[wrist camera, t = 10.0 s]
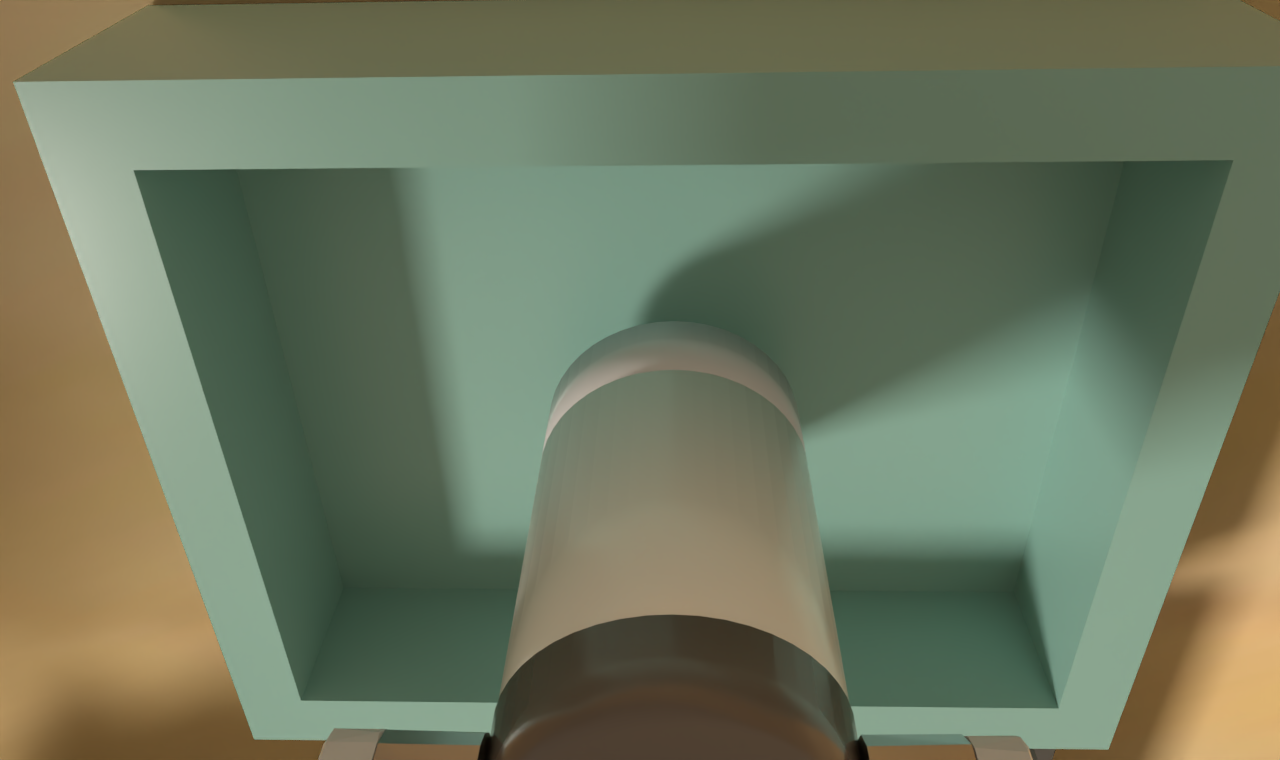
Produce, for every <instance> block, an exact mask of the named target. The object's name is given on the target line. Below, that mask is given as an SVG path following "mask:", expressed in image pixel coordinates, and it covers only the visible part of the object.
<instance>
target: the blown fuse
mask: <svg viewBox="0 0 1280 760" xmlns="http://www.w3.org/2000/svg"><path fill="white" fill-rule="evenodd" d="M486 760H861V757H860V751H859V745H858V737H857V731H856V725H855V720H854V714H853V711H852V708H851V706H850V703H849V698H848V692H847V686H846V681H845V675H844V669H843V663H842V658H841V652H840V646H839V641H838V635H837V629H836V623H835V618H834V612H833V606H832V601H831V595H830V589H829V583H828V578H827V572H826V566H825V561H824V555H823V549H822V544H821V538H820V532H819V526H818V521H817V515H816V509H815V504H814V498H813V492H812V486H811V481H810V475H809V469H808V464H807V458H806V452H805V447H804V441H803V435H802V429H801V424H800V418H799V412H798V407H797V402H796V399H795V396H794V393H793V390H792V388H791V386H790V384H789V382H788V380H787V378H786V376H785V375H784V374H783V372H782V371H781V370H780V368H779V367H778V365H777V364H776V363H775V362H774V361H773V360H772V359H771V358H770V357H769V356H768V355H767V354H766V353H764V352H763V351H762V350H760V349H759V348H758V347H757V346H755V345H754V344H752V343H751V342H749V341H747V340H745V339H744V338H742V337H740V336H738V335H736V334H733V333H731V332H729V331H726V330H724V329H720V328H717V327H713V326H710V325H706V324H700V323H694V322H681V321H666V322H654V323H648V324H642V325H638V326H634V327H631V328H628V329H624V330H621V331H619V332H617V333H614V334H612V335H610V336H608V337H606V338H604V339H602V340H601V341H599V342H597V343H596V344H594V345H592V346H591V347H590V348H589V349H587V350H586V351H585V352H584V353H582V354H581V355H580V356H579V357H578V358H577V359H576V360H575V361H574V362H573V363H572V364H571V365H570V367H569V368H568V369H567V371H566V372H565V374H564V375H563V376H562V378H561V380H560V382H559V384H558V386H557V388H556V390H555V393H554V396H553V399H552V402H551V407H550V413H549V419H548V424H547V430H546V436H545V441H544V447H543V452H542V458H541V464H540V469H539V475H538V481H537V486H536V492H535V498H534V503H533V509H532V514H531V520H530V526H529V531H528V537H527V543H526V548H525V554H524V560H523V565H522V571H521V576H520V582H519V588H518V593H517V599H516V605H515V610H514V616H513V622H512V627H511V633H510V638H509V644H508V650H507V655H506V661H505V667H504V672H503V678H502V683H501V689H500V695H499V699H498V702H497V705H496V708H495V711H494V717H493V722H492V728H491V734H490V741H489V747H488V753H487V758H486Z"/></svg>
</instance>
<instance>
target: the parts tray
mask: <svg viewBox="0 0 1280 760" xmlns="http://www.w3.org/2000/svg"><path fill="white" fill-rule="evenodd" d="M13 83H14V86H15V89H16V91H17V94H18V97H19V100H20V102H21V105H22V108H23V111H24V113H25V116H26V119H27V121H28V124H29V127H30V130H31V132H32V135H33V138H34V141H35V143H36V146H37V149H38V151H39V154H40V157H41V160H42V162H43V165H44V168H45V171H46V173H47V176H48V179H49V181H50V184H51V187H52V190H53V192H54V195H55V198H56V201H57V203H58V206H59V209H60V211H61V214H62V217H63V220H64V222H65V225H66V228H67V231H68V233H69V236H70V239H71V241H72V244H73V247H74V250H75V252H76V255H77V258H78V261H79V263H80V266H81V269H82V271H83V274H84V277H85V280H86V282H87V285H88V288H89V291H90V293H91V296H92V299H93V301H94V304H95V307H96V310H97V312H98V315H99V318H100V321H101V323H102V326H103V329H104V331H105V334H106V337H107V340H108V342H109V345H110V348H111V351H112V353H113V356H114V359H115V361H116V364H117V367H118V370H119V372H120V375H121V378H122V381H123V383H124V386H125V389H126V391H127V394H128V397H129V400H130V402H131V405H132V408H133V411H134V413H135V416H136V419H137V421H138V424H139V427H140V430H141V432H142V435H143V438H144V441H145V443H146V446H147V449H148V451H149V454H150V457H151V460H152V462H153V465H154V468H155V471H156V473H157V476H158V479H159V481H160V484H161V487H162V490H163V492H164V495H165V498H166V501H167V503H168V506H169V509H170V511H171V514H172V517H173V520H174V522H175V525H176V528H177V531H178V533H179V536H180V539H181V541H182V544H183V547H184V550H185V552H186V555H187V558H188V561H189V563H190V566H191V569H192V571H193V574H194V577H195V580H196V582H197V585H198V588H199V591H200V593H201V596H202V599H203V601H204V604H205V607H206V610H207V612H208V615H209V618H210V621H211V623H212V626H213V629H214V631H215V634H216V637H217V640H218V642H219V645H220V648H221V651H222V653H223V656H224V659H225V661H226V664H227V667H228V670H229V672H230V675H231V678H232V681H233V683H234V686H235V689H236V691H237V694H238V697H239V700H240V702H241V705H242V708H243V710H244V713H245V716H246V719H247V721H248V724H249V727H250V730H251V732H252V735H253V738H254V739H257V740H327V738H328V737H329V735H330V734H331V732H332V731H333V729H334V728H344V729H388V730H422V731H455V732H488V733H490V734H491V728H492V722H493V717H494V711H495V708H496V705H497V702H498V699H499V695H500V689H501V683H502V678H503V672H504V667H505V661H506V655H507V650H508V644H509V638H510V633H511V627H512V622H513V616H514V610H515V605H516V599H517V593H518V588H519V582H520V576H521V571H522V565H523V560H524V554H525V548H526V543H527V537H528V531H529V526H530V520H531V514H532V509H533V503H534V498H535V492H536V486H537V481H538V475H539V469H540V464H541V458H542V452H543V447H544V441H545V436H546V430H547V424H548V419H549V413H550V407H551V402H552V399H553V396H554V393H555V390H556V388H557V386H558V384H559V382H560V380H561V378H562V376H563V375H564V374H565V372H566V371H567V369H568V368H569V367H570V365H571V364H572V363H573V362H574V361H575V360H576V359H577V358H578V357H579V356H580V355H581V354H582V353H584V352H585V351H586V350H587V349H589V348H590V347H591V346H592V345H594V344H596V343H597V342H599V341H601V340H602V339H604V338H606V337H608V336H610V335H612V334H614V333H617V332H619V331H621V330H624V329H628V328H631V327H634V326H638V325H642V324H648V323H654V322H666V321H681V322H694V323H700V324H706V325H710V326H713V327H717V328H720V329H724V330H726V331H729V332H731V333H733V334H736V335H738V336H740V337H742V338H744V339H745V340H747V341H749V342H751V343H752V344H754V345H755V346H757V347H758V348H759V349H760V350H762V351H763V352H764V353H766V354H767V355H768V356H769V357H770V358H771V359H772V360H773V361H774V362H775V363H776V364H777V365H778V367H779V368H780V370H781V371H782V372H783V374H784V375H785V376H786V378H787V380H788V382H789V384H790V386H791V388H792V390H793V393H794V396H795V399H796V402H797V407H798V412H799V418H800V424H801V429H802V435H803V441H804V447H805V452H806V458H807V464H808V469H809V475H810V481H811V486H812V492H813V498H814V504H815V509H816V515H817V521H818V526H819V532H820V538H821V544H822V549H823V555H824V561H825V566H826V572H827V578H828V583H829V589H830V595H831V601H832V606H833V612H834V618H835V623H836V629H837V635H838V641H839V646H840V652H841V658H842V663H843V669H844V675H845V681H846V686H847V692H848V698H849V703H850V706H851V708H852V711H853V714H854V720H855V725H856V731H857V737H858V739H859V737H860V735H878V734H962V735H963V736H1019V737H1021V738H1022V740H1023V741H1024V742H1025V743H1026V745H1027V746H1028V747H1029V749H1098V750H1109V747H1110V744H1111V742H1112V739H1113V736H1114V734H1115V731H1116V728H1117V725H1118V723H1119V720H1120V717H1121V715H1122V712H1123V709H1124V707H1125V704H1126V701H1127V699H1128V696H1129V693H1130V691H1131V688H1132V685H1133V683H1134V680H1135V677H1136V675H1137V672H1138V669H1139V667H1140V664H1141V661H1142V659H1143V656H1144V653H1145V651H1146V648H1147V645H1148V643H1149V640H1150V637H1151V635H1152V632H1153V629H1154V627H1155V624H1156V621H1157V618H1158V616H1159V613H1160V610H1161V608H1162V605H1163V602H1164V600H1165V597H1166V594H1167V592H1168V589H1169V586H1170V584H1171V581H1172V578H1173V576H1174V573H1175V570H1176V568H1177V565H1178V562H1179V560H1180V557H1181V554H1182V552H1183V549H1184V546H1185V544H1186V541H1187V538H1188V536H1189V533H1190V530H1191V528H1192V525H1193V522H1194V520H1195V517H1196V514H1197V511H1198V509H1199V506H1200V503H1201V501H1202V498H1203V495H1204V493H1205V490H1206V487H1207V485H1208V482H1209V479H1210V477H1211V474H1212V471H1213V469H1214V466H1215V463H1216V461H1217V458H1218V455H1219V453H1220V450H1221V447H1222V445H1223V442H1224V439H1225V437H1226V434H1227V431H1228V429H1229V426H1230V423H1231V421H1232V418H1233V415H1234V412H1235V410H1236V407H1237V404H1238V402H1239V399H1240V396H1241V394H1242V391H1243V388H1244V386H1245V383H1246V380H1247V378H1248V375H1249V372H1250V370H1251V367H1252V364H1253V362H1254V359H1255V356H1256V354H1257V351H1258V348H1259V346H1260V343H1261V340H1262V338H1263V335H1264V332H1265V330H1266V327H1267V324H1268V322H1269V319H1270V316H1271V314H1272V311H1273V308H1274V305H1275V303H1276V300H1277V297H1278V295H1279V292H1280V21H1279V20H1277V19H1275V18H1273V17H1271V16H1269V15H1267V14H1265V13H1264V12H1262V11H1260V10H1258V9H1256V8H1254V7H1252V6H1250V5H1248V4H1246V3H1244V2H1242V1H1241V0H470V1H404V2H338V3H272V4H206V5H148V6H146V7H144V8H142V9H141V10H139V11H137V12H135V13H134V14H132V15H130V16H128V17H127V18H125V19H123V20H121V21H120V22H118V23H116V24H114V25H112V26H111V27H109V28H107V29H105V30H104V31H102V32H100V33H98V34H97V35H95V36H93V37H91V38H90V39H88V40H86V41H84V42H82V43H81V44H79V45H77V46H75V47H74V48H72V49H70V50H68V51H67V52H65V53H63V54H61V55H60V56H58V57H56V58H54V59H53V60H51V61H49V62H47V63H45V64H44V65H42V66H40V67H38V68H37V69H35V70H33V71H31V72H30V73H28V74H26V75H24V76H23V77H21V78H19V79H17V80H15V81H14V82H13Z"/></svg>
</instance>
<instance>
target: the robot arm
mask: <svg viewBox="0 0 1280 760" xmlns="http://www.w3.org/2000/svg"><path fill="white" fill-rule="evenodd" d="M489 741H490V733H488V732H455V731H422V730H388V729H344V728H334V729H333V731H332V732H331V734H330V735H329V737H328V738H327V740H326V741H325V743H324V744H323V746H322V749H321V752H320V755H319V758H318V760H486V758H487V753H488V747H489ZM858 745H859V751H860V757H861V760H1033V759H1032V756H1031V753H1030V750H1029V747H1028V746H1027V745H1026V743H1025V742H1024V741H1023V740H1022V738H1021V737H1019V736H963V735H962V734H878V735H860V737H859V739H858Z"/></svg>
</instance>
